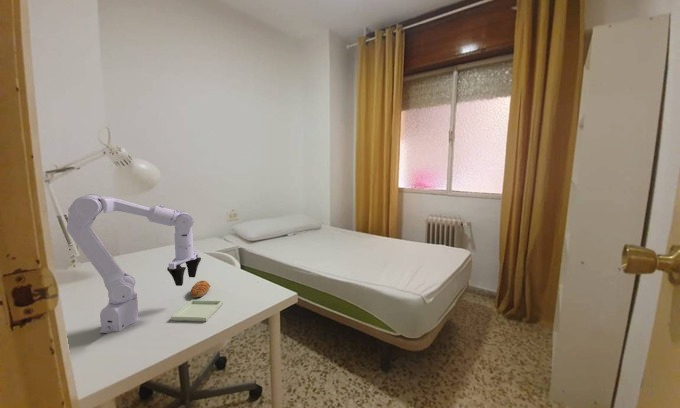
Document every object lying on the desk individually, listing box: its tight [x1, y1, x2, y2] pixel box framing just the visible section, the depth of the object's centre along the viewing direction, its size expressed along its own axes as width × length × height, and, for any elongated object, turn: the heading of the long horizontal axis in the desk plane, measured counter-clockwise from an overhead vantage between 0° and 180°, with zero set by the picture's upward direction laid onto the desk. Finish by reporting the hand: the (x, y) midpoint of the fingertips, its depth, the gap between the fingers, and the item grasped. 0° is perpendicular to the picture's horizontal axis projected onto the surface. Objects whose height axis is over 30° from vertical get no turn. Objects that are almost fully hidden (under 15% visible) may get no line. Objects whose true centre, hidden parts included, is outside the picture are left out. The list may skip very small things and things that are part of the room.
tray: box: [170, 299, 224, 323], centre depth 94 cm, size 12×12×2 cm
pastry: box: [190, 280, 211, 298], centre depth 108 cm, size 9×7×4 cm
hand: (185, 281), depth 97 cm, fingers open, 7 cm apart
